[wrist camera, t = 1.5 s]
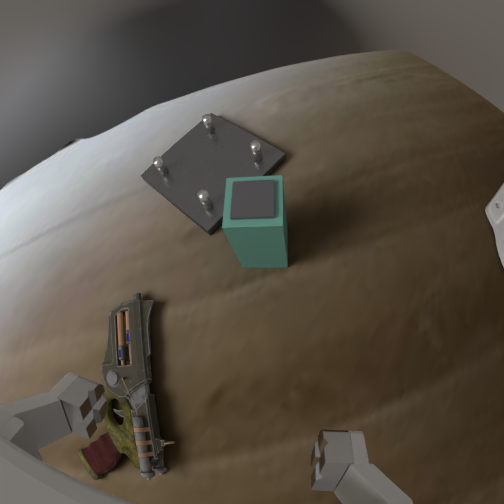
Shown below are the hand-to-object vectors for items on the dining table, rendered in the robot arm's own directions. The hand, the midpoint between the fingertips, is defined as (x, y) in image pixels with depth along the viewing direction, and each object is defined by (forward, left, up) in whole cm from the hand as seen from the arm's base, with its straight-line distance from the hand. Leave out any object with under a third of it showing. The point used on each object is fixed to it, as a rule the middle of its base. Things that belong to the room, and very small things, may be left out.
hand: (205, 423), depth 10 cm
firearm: (+13, -12, -22) cm, 28 cm away
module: (-12, -11, -22) cm, 27 cm away
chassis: (-16, -24, -22) cm, 36 cm away
